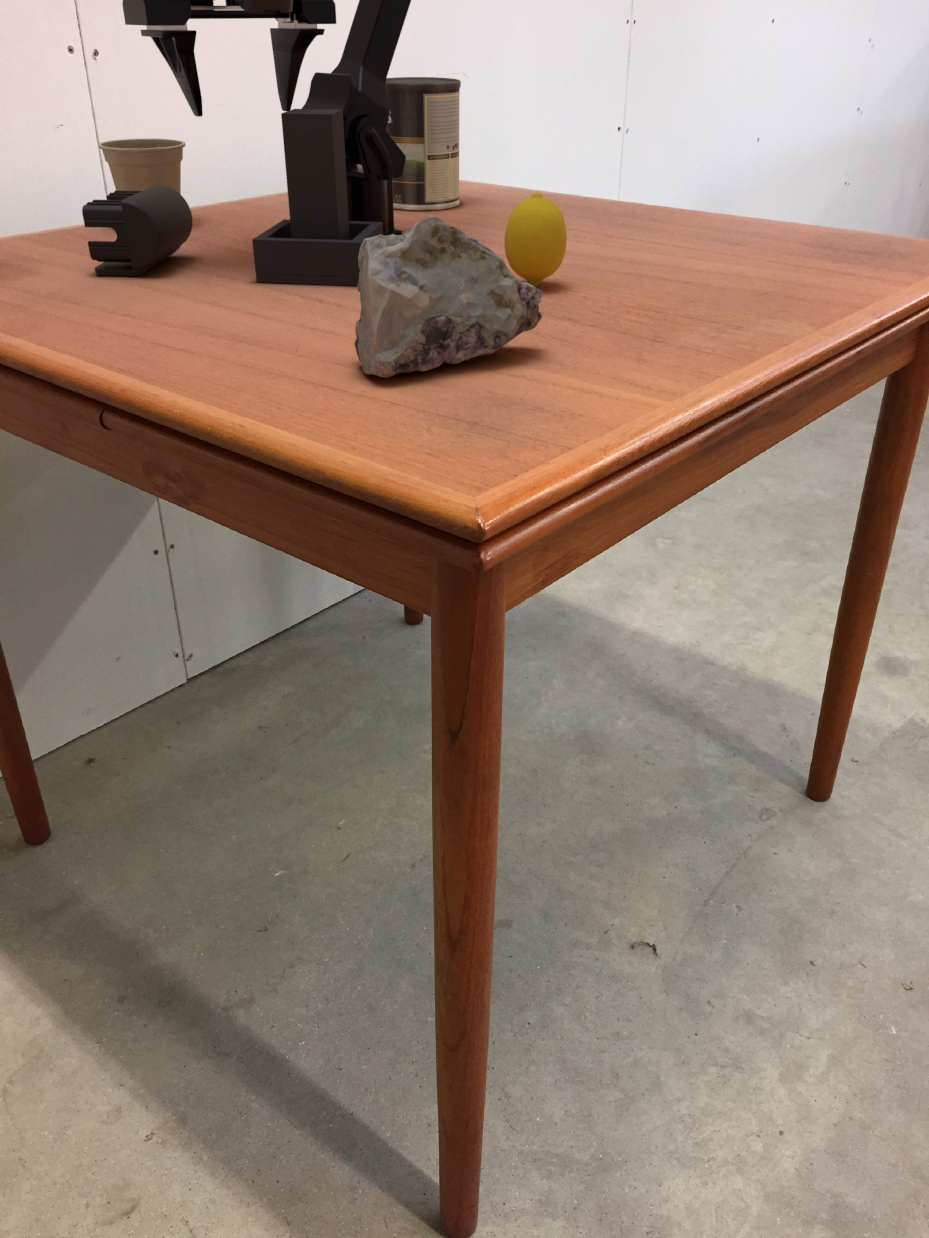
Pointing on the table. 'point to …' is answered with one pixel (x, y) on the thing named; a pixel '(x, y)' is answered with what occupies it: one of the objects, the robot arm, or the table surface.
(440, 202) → the coffee can
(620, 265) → the table surface
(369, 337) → the mineral rock
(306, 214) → the pad block
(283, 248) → the socket pad
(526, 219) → the lemon
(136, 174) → the flower pot
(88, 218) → the end cap
